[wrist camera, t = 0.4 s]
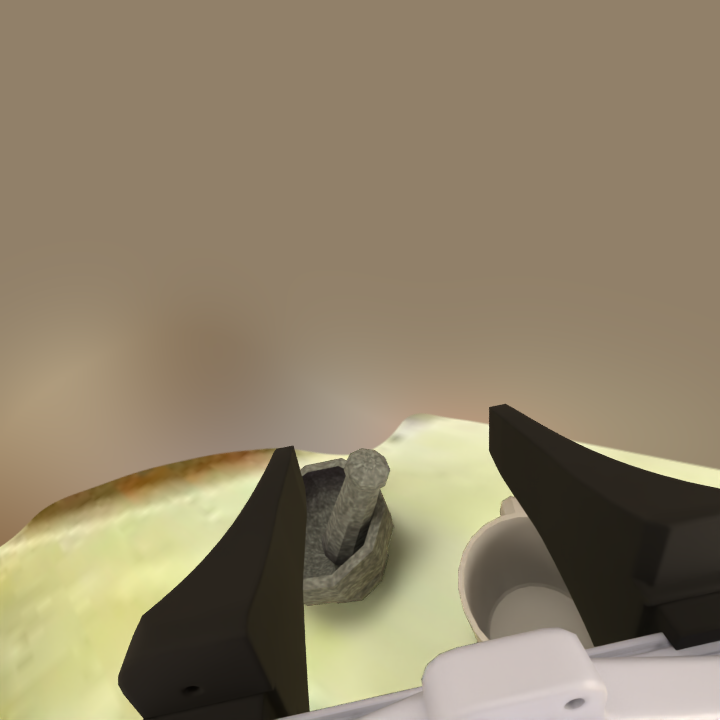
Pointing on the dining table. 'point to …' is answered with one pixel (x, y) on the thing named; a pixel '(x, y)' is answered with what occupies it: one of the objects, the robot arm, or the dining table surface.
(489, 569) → the cup
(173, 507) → the dining table surface
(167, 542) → the dining table surface
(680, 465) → the dining table surface
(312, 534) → the mortar and pestle
